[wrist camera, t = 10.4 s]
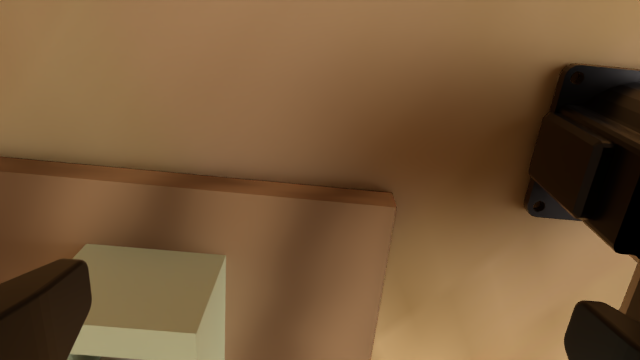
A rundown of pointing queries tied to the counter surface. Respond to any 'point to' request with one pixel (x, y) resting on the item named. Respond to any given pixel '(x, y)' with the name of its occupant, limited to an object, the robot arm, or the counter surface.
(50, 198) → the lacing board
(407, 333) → the counter surface
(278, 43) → the counter surface
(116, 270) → the square hollow cube
